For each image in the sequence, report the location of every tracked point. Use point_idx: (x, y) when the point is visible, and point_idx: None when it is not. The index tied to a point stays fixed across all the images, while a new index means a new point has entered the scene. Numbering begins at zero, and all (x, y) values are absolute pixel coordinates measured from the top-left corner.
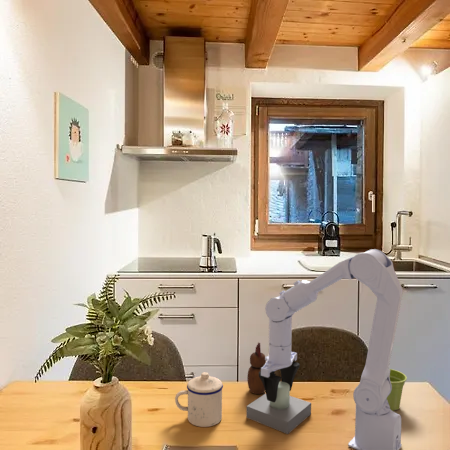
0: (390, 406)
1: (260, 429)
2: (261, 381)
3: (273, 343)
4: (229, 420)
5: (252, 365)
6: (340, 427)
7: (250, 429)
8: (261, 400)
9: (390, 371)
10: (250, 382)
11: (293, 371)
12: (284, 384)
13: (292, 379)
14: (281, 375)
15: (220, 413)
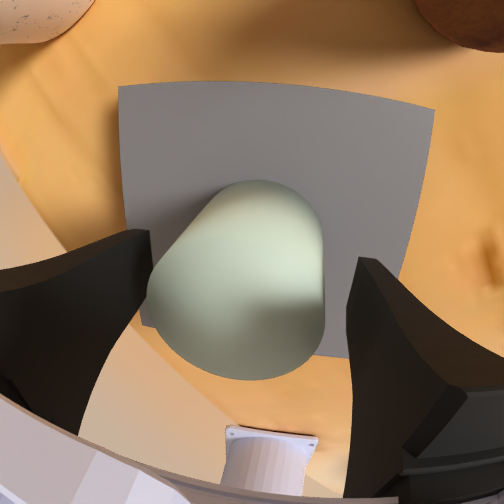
0: None
1: (117, 193)
2: (453, 19)
3: None
4: (92, 47)
5: None
6: (316, 404)
7: (93, 160)
8: (237, 116)
9: None
10: None
11: (350, 465)
12: (274, 345)
13: (356, 393)
14: (388, 310)
15: (39, 32)
